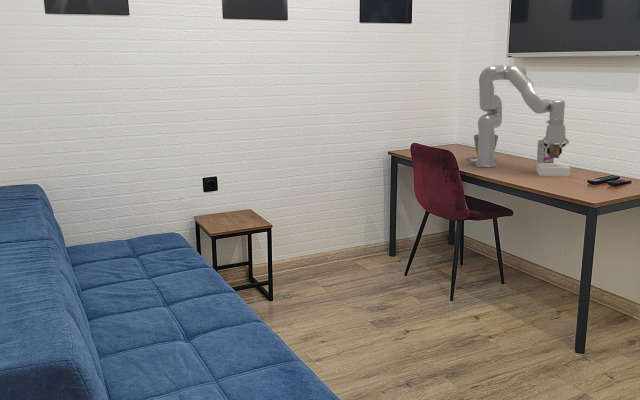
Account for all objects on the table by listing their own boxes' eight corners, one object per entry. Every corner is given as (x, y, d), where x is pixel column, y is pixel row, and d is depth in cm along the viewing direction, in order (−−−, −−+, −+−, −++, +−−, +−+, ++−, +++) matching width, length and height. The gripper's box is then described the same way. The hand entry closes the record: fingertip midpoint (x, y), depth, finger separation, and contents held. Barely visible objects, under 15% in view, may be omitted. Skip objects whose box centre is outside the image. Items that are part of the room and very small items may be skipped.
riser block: (539, 176, 327) (539, 167, 326) (536, 171, 340) (536, 162, 339) (569, 177, 323) (570, 168, 322) (565, 172, 337) (566, 163, 335)
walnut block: (549, 157, 328) (550, 145, 326) (549, 156, 332) (549, 144, 331) (558, 158, 326) (559, 145, 324) (558, 156, 331) (559, 144, 329)
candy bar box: (545, 164, 356) (547, 138, 353) (553, 166, 353) (555, 139, 349) (535, 167, 350) (537, 140, 346) (543, 168, 346) (545, 141, 342)
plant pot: (468, 160, 376) (469, 136, 373) (479, 157, 387) (480, 133, 383) (490, 163, 367) (491, 137, 363) (500, 159, 377) (502, 135, 374)
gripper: (539, 123, 324) (538, 155, 328) (573, 123, 318) (570, 156, 323) (539, 121, 331) (538, 153, 335) (572, 122, 325) (570, 154, 329)
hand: (554, 154), depth 329 cm, fingers closed on walnut block, 5 cm apart
